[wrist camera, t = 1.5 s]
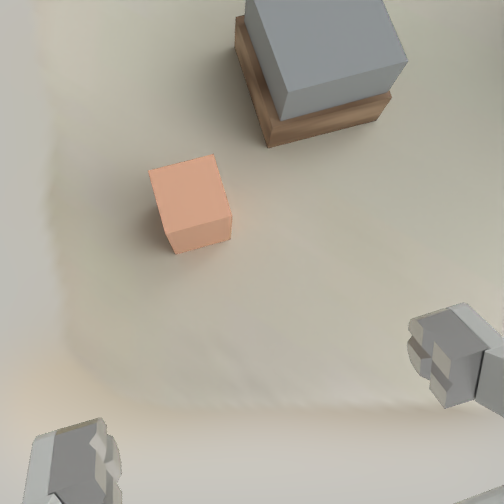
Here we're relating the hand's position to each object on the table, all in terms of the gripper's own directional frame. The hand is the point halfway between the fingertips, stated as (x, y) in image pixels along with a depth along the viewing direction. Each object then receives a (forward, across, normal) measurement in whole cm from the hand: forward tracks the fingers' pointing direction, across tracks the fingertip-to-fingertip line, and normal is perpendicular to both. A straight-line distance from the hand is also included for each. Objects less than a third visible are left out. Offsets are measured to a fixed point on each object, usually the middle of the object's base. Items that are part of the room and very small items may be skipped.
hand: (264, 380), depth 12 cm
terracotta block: (+28, 0, +11) cm, 30 cm away
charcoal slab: (+32, -14, 0) cm, 35 cm away
